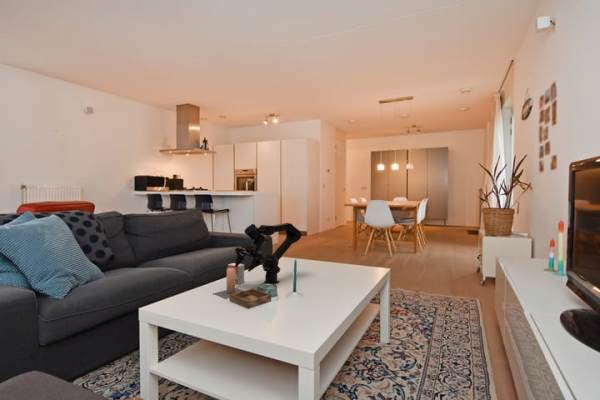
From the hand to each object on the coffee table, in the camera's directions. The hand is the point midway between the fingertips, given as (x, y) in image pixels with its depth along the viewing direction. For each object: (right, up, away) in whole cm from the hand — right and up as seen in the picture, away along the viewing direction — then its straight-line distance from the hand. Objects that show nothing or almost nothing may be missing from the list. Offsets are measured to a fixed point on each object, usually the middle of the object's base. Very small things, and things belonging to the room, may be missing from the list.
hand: (241, 269), depth 168 cm
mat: (-5, -12, -5) cm, 14 cm away
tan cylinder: (-5, -11, -5) cm, 13 cm away
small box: (-6, -11, +15) cm, 20 cm away
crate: (+7, -12, -16) cm, 21 cm away
